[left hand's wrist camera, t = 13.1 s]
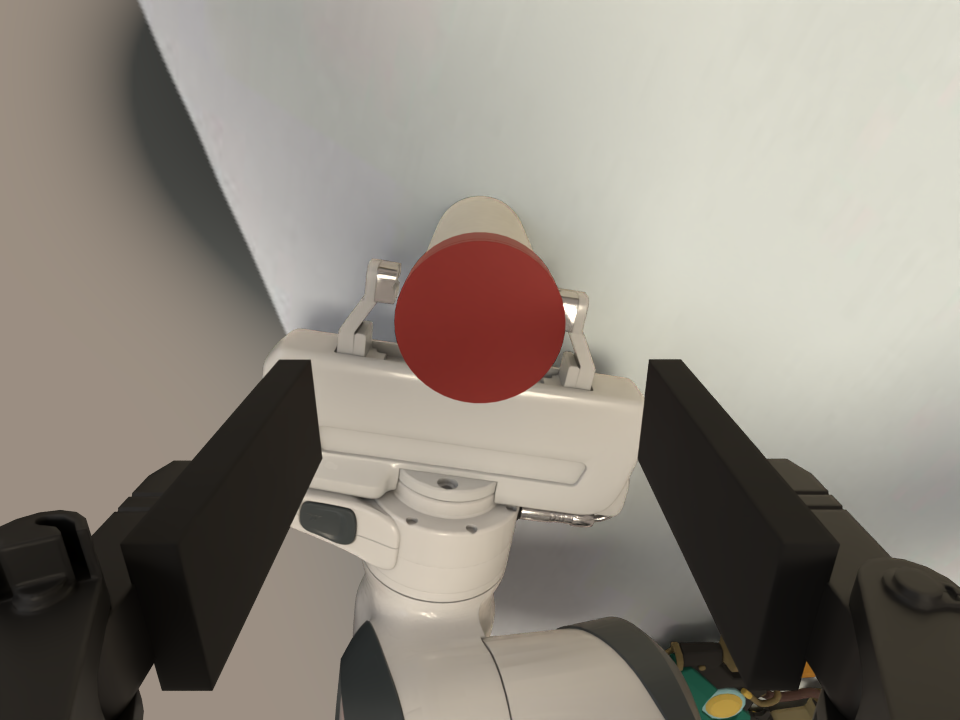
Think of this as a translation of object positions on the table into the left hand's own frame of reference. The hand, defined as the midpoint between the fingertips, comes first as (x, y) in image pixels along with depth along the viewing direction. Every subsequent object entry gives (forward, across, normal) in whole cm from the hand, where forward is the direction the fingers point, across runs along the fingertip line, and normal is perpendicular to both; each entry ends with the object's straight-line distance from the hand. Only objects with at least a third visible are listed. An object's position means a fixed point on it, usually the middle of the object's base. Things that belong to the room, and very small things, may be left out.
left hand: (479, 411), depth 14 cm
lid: (+7, 0, 0) cm, 7 cm away
